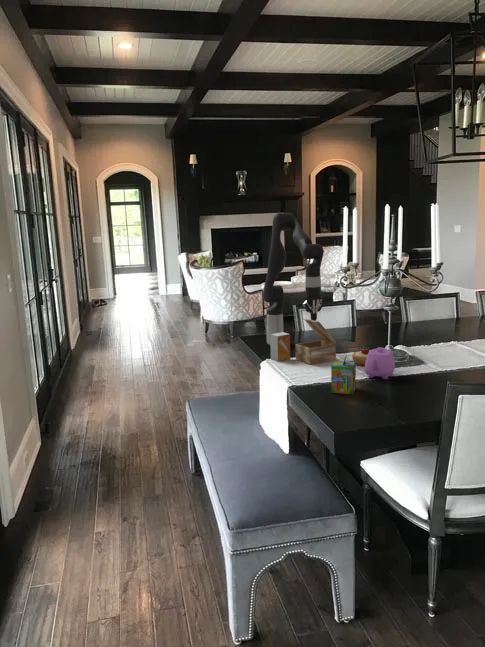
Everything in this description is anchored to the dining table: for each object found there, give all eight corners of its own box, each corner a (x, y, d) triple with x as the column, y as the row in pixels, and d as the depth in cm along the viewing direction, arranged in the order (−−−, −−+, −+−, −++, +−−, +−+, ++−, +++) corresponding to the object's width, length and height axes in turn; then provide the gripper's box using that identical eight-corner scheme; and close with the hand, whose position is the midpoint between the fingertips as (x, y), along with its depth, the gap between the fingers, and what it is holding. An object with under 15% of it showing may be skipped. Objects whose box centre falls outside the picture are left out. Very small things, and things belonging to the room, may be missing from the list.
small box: (278, 361, 263) (277, 336, 261) (270, 359, 268) (269, 334, 266) (290, 358, 268) (290, 333, 265) (283, 356, 273) (282, 331, 270)
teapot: (370, 368, 245) (371, 342, 242) (398, 371, 239) (398, 343, 237) (359, 380, 227) (359, 352, 225) (389, 383, 222) (389, 354, 219)
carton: (295, 359, 265) (295, 344, 264) (320, 354, 273) (320, 339, 272) (310, 365, 255) (310, 348, 253) (336, 359, 263) (336, 343, 261)
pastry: (359, 369, 247) (359, 350, 245) (348, 362, 258) (347, 344, 256) (382, 365, 250) (382, 347, 248) (370, 359, 261) (370, 341, 259)
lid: (304, 319, 264) (304, 318, 264) (320, 339, 271) (321, 338, 272) (318, 322, 254) (319, 321, 254) (335, 343, 262) (336, 342, 262)
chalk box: (333, 386, 221) (333, 352, 218) (356, 387, 218) (356, 353, 216) (330, 393, 213) (330, 357, 210) (353, 394, 210) (353, 358, 207)
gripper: (319, 283, 263) (319, 317, 266) (297, 286, 256) (298, 321, 260) (328, 284, 257) (329, 319, 260) (307, 287, 250) (307, 323, 253)
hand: (313, 320), depth 260 cm, fingers closed
